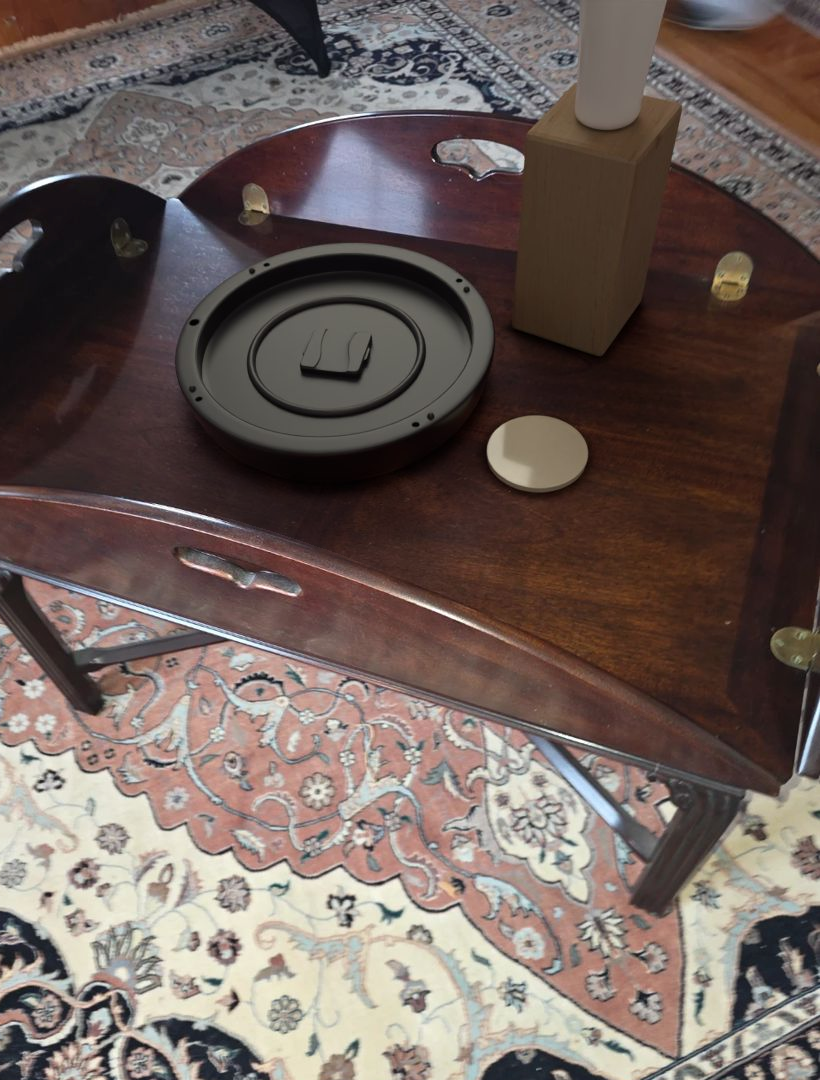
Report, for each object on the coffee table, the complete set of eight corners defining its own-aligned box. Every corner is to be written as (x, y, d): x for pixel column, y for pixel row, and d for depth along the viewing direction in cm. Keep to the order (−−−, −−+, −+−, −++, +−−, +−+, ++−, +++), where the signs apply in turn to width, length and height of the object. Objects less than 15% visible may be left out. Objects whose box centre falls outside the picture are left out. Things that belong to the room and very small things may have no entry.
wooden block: (642, 302, 90) (685, 101, 74) (601, 359, 86) (638, 159, 69) (553, 275, 94) (575, 78, 77) (509, 329, 89) (523, 132, 73)
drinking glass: (596, 147, 71) (627, -77, 58) (548, 112, 74) (568, -105, 62) (664, 121, 72) (709, -102, 60) (614, 88, 76) (647, -128, 63)
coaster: (590, 424, 81) (591, 420, 80) (583, 497, 76) (584, 493, 75) (493, 415, 82) (493, 411, 82) (479, 486, 77) (480, 482, 77)
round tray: (509, 298, 92) (238, 280, 97) (513, 247, 87) (227, 230, 92) (469, 515, 76) (146, 479, 81) (470, 467, 71) (126, 432, 76)
